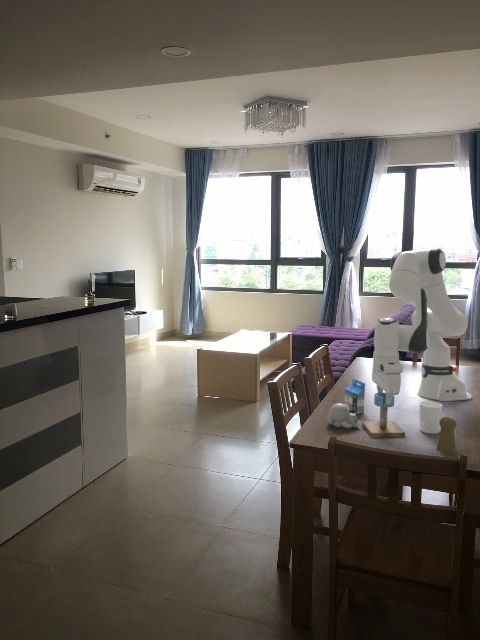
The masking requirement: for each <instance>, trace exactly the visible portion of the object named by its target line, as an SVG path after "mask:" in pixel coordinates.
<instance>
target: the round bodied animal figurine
mask: <svg viewBox="0 0 480 640" xmlns="http://www.w3.org/2000/svg"><path fill="white" fill-rule="evenodd" d="M330 407H331V408H330V410H329V414H328V416H327V417H326V422H327V423H328V424H333V426H335V427H336V428H339V429H340V428H341V426H342V424H343V423H345V422H346V423H347V424H348V425H350V426H351V427H352V428H354V429H355V428H358V426H360V425H361V424H362V421H361V420H360V421H359V420H358V417H357V415H358V414H357V413H354V412H351V411H350V410H349V409H348V407H347V406H346V405H345V403H341V402H338V403H335V404H332V405H331V406H330Z"/></svg>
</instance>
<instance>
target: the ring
mask: <svg viewBox="0 0 480 640" xmlns="http://www.w3.org/2000/svg"><path fill="white" fill-rule="evenodd" d="M395 396H396V395H393V397H392V399H391V404H386V403H385V398H386V392H385V391H383V392H378V391H377V392H376V393H374V396H373V397H374V398H373V400H374V402H373V403H374V406H377V407H378V408H380V407H388V408H392V407H394V406H395V399H396V398H395Z"/></svg>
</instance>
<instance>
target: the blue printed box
mask: <svg viewBox="0 0 480 640" xmlns="http://www.w3.org/2000/svg"><path fill="white" fill-rule="evenodd" d="M365 391H366V383H365V382H363V381H360V380H358V379H355V378H352V384H351V385H349V386H347V387H345V389H344V405H346V406H347V407H348V409H349V412H351V413H353V414H354V413H357V414H356V415H362V414H364V413H365V394H366V392H365Z"/></svg>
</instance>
